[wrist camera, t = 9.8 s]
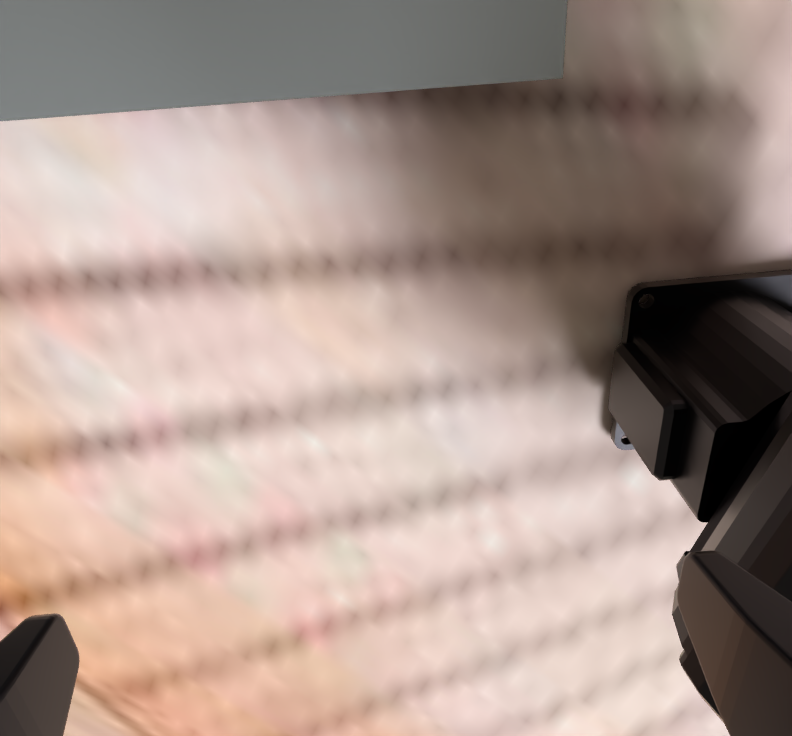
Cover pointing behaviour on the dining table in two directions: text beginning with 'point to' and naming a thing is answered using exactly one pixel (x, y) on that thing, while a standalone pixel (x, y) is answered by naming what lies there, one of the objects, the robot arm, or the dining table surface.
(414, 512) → the dining table surface
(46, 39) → the hole block
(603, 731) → the dining table surface
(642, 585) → the dining table surface
